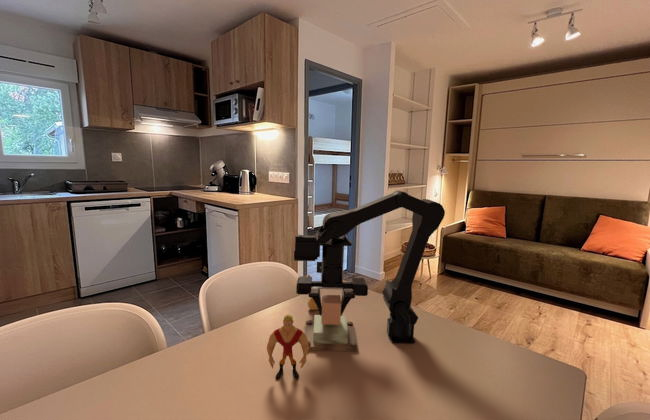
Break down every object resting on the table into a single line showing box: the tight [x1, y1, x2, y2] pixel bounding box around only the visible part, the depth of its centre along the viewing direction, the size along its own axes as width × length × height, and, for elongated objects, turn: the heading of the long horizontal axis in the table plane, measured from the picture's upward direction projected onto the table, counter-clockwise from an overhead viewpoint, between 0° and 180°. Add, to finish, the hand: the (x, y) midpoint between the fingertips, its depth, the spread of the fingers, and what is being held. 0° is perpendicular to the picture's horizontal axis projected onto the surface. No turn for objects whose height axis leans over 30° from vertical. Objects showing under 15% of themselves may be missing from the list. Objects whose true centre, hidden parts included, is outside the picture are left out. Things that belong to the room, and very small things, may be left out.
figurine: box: [304, 274, 318, 311], centre depth 96 cm, size 8×6×12 cm
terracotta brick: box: [321, 294, 342, 325], centre depth 81 cm, size 5×5×6 cm
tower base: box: [304, 314, 358, 352], centre depth 82 cm, size 14×12×4 cm
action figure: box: [266, 314, 310, 380], centre depth 66 cm, size 10×4×15 cm, turn 92°
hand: (330, 315), depth 81 cm, fingers closed on terracotta brick, 5 cm apart
